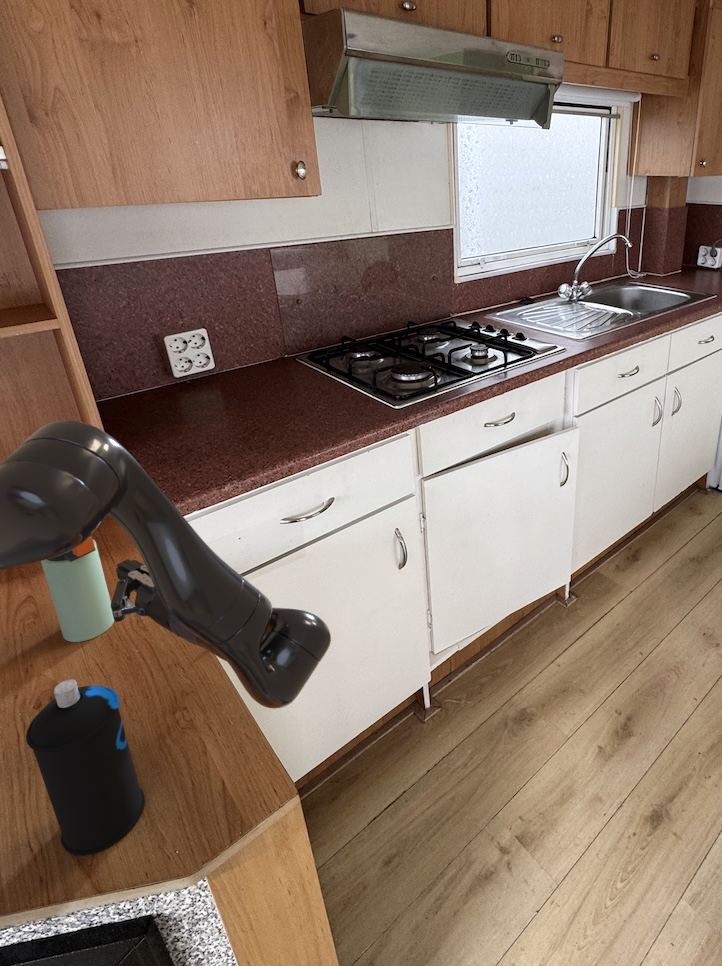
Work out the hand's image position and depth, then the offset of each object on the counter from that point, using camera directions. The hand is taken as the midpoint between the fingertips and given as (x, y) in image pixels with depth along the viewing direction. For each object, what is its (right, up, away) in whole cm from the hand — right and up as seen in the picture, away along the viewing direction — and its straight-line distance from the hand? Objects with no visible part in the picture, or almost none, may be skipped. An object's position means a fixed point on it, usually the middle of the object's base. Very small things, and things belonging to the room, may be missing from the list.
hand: (122, 567), depth 83 cm
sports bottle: (-14, -14, +13) cm, 24 cm away
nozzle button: (-9, +1, +5) cm, 11 cm away
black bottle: (+8, -25, -16) cm, 31 cm away
